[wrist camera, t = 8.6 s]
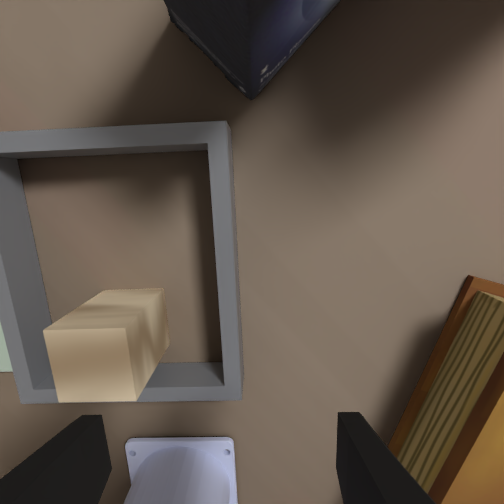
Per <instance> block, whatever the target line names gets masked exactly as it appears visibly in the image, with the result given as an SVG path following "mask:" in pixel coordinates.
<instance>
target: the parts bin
mask: <svg viewBox="0 0 504 504" xmlns="http://www.w3.org/2000/svg"><path fill="white" fill-rule="evenodd" d="M198 150H208V157H209V171H210V185H211V200H212V214H213V228H214V242H215V256H216V271H217V285H218V299H219V313H220V327H221V342H222V356H223V362H197V363H158V365H157V367H156V368H155V370H154V372H153V374H152V375H151V377H150V379H149V380H148V382H147V384H146V386H145V387H144V389H143V391H142V392H141V394H140V396H139V398H138V399H137V401H116V402H160V401H224V400H242V392H243V380H244V365H243V346H242V327H241V308H240V289H239V270H238V251H237V232H236V213H235V195H234V176H233V157H232V138H231V129H230V127H229V125H228V123H227V121H208V122H188V123H168V124H148V125H128V126H108V127H88V128H68V129H48V130H28V131H8V132H0V322H1V326H2V330H3V334H4V338H5V342H6V346H7V350H8V354H9V358H10V362H11V366H12V370H13V374H14V378H15V382H16V386H17V390H18V393H19V397H20V401H21V404H34V403H59V401H58V397H57V392H56V388H55V383H54V379H53V374H52V370H51V365H50V361H49V356H48V352H47V347H46V343H45V338H44V334H43V330H44V329H45V328H47V327H49V326H50V325H52V322H51V317H50V312H49V308H48V303H47V298H46V293H45V289H44V284H43V279H42V274H41V270H40V265H39V260H38V255H37V251H36V246H35V241H34V236H33V232H32V227H31V222H30V217H29V213H28V208H27V203H26V198H25V194H24V189H23V184H22V180H21V175H20V170H19V165H18V161H17V159H26V158H47V157H69V156H90V155H112V154H133V153H155V152H176V151H198ZM62 403H97V402H62Z"/></svg>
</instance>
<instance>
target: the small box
mask: <svg viewBox="0 0 504 504" xmlns="http://www.w3.org/2000/svg"><path fill="white" fill-rule="evenodd" d="M340 1H341V0H164V2H165V4H166V6H167V8H168V12H169V16H170V20H171V22H173V23H175V25H176V26H177V28H179V29H180V30H181V31H182V32H184V33H186V34H187V35H188V36H189V39H190V40H191V41H193V42H194V43H195V44H196V45H197V46H198V47H199V48H200V49H201V50H202V51H203V53H204V54H206V55H207V56H208V57H209V59H211V60H212V61H213V63H214V64H215V66H217V67H218V68H219V69H220V70H221V71H222V72H223V73H224V74H225V77H226V78H227V79H228V80H229V81H230V82H231V83H232V84H233V85H234V86H235V87H236V88H238V89H239V90H240V91H241V92H243V93H244V94H245V96H246V97H247V98H249V99H251V100H252V99H254V98H255V97H256V96H257V95H258V94H259V93H260V92H261V90H262V89H263V88H264V87H265V86H266V85H267V84H268V82H269V81H270V80H271V79H272V78H273V77H274V76H275V74H276V73H277V72H278V71H279V70H280V69H281V67H282V66H283V65H284V64H285V63H286V62H287V61H288V60H289V58H290V57H291V56H292V55H293V54H294V53H295V52H296V50H297V49H298V48H299V47H300V46H301V45H302V44H303V42H304V41H305V40H306V39H307V38H308V37H309V36H310V35H311V34H312V32H313V31H314V30H315V29H316V28H317V27H318V26H319V24H320V23H321V22H322V21H323V20H324V19H325V18H326V17H327V15H328V14H329V13H330V12H331V11H332V10H333V9H334V8H335V6H336V5H337V4H338V3H339V2H340Z"/></svg>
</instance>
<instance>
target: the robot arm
mask: <svg viewBox="0 0 504 504" xmlns="http://www.w3.org/2000/svg"><path fill="white" fill-rule="evenodd" d="M226 449H227V450H228V451H227V450H226ZM125 450H126V456H127V462H128V468H129V474H130V480H131V487H130V489H129V492H128V494H127V496H126V499H125V501H124V503H123V504H238V500H237V484H236V469H235V454H234V442H233V440H232V439H231V438H230V437H176V438H130V439H129V440H128V441H127V443H126V445H125ZM132 450H133V451H132ZM111 469H112V466H111V461H110V456H109V451H108V446H107V440H106V435H105V430H104V425H103V419H102V415H82V416H81V417H79V418H78V419H76V420H75V421H74V422H72V423H71V424H70V425H69V426H67V427H66V428H65V429H63V430H62V431H61V432H60V433H58V434H57V435H56V436H55V437H53V438H52V439H51V440H50V441H48V442H47V443H46V444H44V445H43V446H42V447H41V448H39V449H38V450H37V451H36V452H34V453H33V454H32V455H31V456H29V457H28V458H27V459H26V460H24V461H23V462H22V463H20V464H19V465H18V466H17V467H15V468H14V469H13V470H12V471H10V472H9V473H8V474H6V475H5V476H4V477H3V478H1V479H0V504H98V502H99V500H100V498H101V495H102V493H103V490H104V488H105V485H106V482H107V480H108V477H109V475H110V472H111ZM336 470H337V474H338V479H339V484H340V489H341V494H342V498H343V503H344V504H436V503H435V502H434V500H433V499H432V498H431V497H430V496H429V495H428V494H427V493H426V492H425V490H424V489H423V488H422V487H421V486H420V485H419V484H418V482H417V481H416V480H415V479H414V478H413V477H412V476H411V474H410V473H409V472H408V471H407V470H406V469H405V468H404V466H403V465H402V464H401V463H400V462H399V461H398V459H397V458H396V457H395V456H394V455H393V453H392V452H391V451H390V450H389V448H388V447H387V446H386V445H385V444H384V442H383V441H382V440H381V439H380V437H379V436H378V435H377V434H376V432H375V431H374V430H373V429H372V427H371V426H370V425H369V424H368V422H367V421H366V420H365V418H364V417H363V416H362V415H361V414H360V413H359V412H338V425H337V455H336Z"/></svg>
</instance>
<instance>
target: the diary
mask: <svg viewBox="0 0 504 504" xmlns="http://www.w3.org/2000/svg"><path fill="white" fill-rule="evenodd" d="M388 448H389V450H390V451H391V452H392V453H393V455H394V456H395V457H396V458H397V459H398V461H399V462H400V463H401V464H402V465H403V466H404V468H405V469H406V470H407V471H408V472H409V473H410V474H411V476H412V477H413V478H414V479H415V480H416V481H417V482H418V484H419V485H420V486H421V487H422V488H423V489H424V490H425V492H426V493H427V494H428V495H429V496H430V497H431V498H432V499H433V500H434V502H435V503H436V504H504V285H503V284H499V283H495V282H492V281H488V280H485V279H481V278H478V277H474V276H471V275H468V277H467V279H466V281H465V283H464V286H463V288H462V290H461V292H460V294H459V296H458V298H457V300H456V303H455V305H454V307H453V309H452V311H451V313H450V315H449V317H448V320H447V322H446V324H445V326H444V328H443V330H442V332H441V334H440V337H439V339H438V341H437V343H436V345H435V347H434V349H433V352H432V354H431V356H430V358H429V360H428V362H427V364H426V366H425V369H424V371H423V373H422V375H421V377H420V379H419V381H418V383H417V386H416V388H415V390H414V392H413V394H412V396H411V398H410V400H409V403H408V405H407V407H406V409H405V411H404V413H403V415H402V417H401V420H400V422H399V424H398V426H397V428H396V430H395V432H394V434H393V437H392V439H391V441H390V443H389V445H388Z"/></svg>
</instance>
